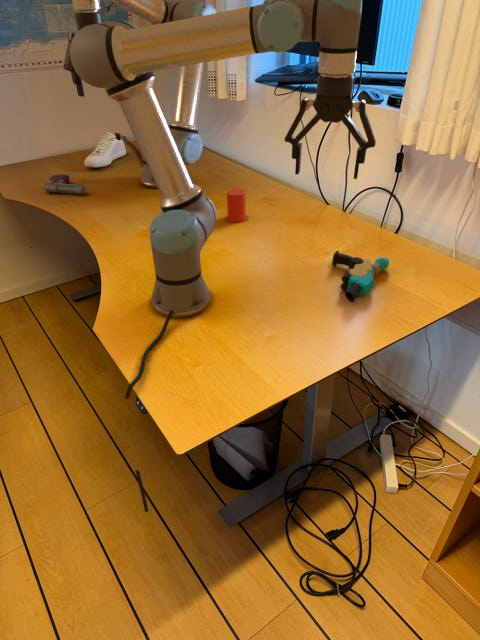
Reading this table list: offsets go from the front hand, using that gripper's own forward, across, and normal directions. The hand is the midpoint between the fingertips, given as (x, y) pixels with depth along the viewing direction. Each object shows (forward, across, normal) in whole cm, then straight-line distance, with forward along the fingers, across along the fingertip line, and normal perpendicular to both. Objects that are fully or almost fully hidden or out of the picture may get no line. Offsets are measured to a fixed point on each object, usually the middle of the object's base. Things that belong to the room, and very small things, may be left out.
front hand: (326, 174), depth 112 cm
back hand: (-9, +74, -32) cm, 81 cm away
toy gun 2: (+31, -9, -6) cm, 33 cm away
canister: (+31, +33, -39) cm, 60 cm away
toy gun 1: (+31, +107, -51) cm, 123 cm away
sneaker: (+31, +110, -86) cm, 143 cm away
